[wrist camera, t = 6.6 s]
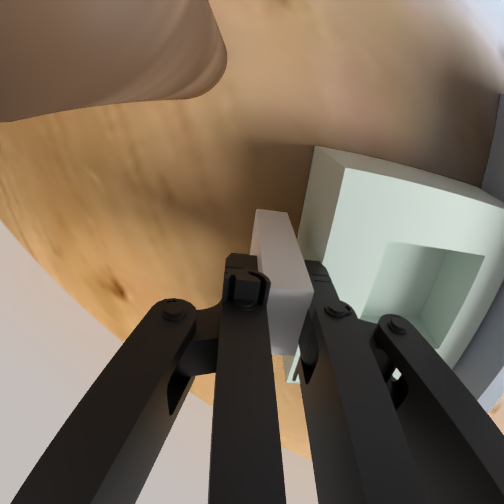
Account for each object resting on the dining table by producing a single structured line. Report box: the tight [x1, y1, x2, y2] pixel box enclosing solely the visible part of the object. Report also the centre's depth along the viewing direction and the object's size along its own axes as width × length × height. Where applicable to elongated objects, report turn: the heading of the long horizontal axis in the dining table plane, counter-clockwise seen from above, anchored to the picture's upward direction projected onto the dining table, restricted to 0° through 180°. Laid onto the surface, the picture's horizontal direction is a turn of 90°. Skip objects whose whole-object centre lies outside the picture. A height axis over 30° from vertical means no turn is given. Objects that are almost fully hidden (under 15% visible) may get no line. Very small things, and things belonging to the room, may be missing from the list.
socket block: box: [283, 145, 504, 383], centre depth 15 cm, size 11×11×5 cm
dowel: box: [0, 0, 227, 122], centre depth 7 cm, size 4×4×12 cm
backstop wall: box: [452, 94, 504, 413], centre depth 15 cm, size 24×3×8 cm, turn 172°
